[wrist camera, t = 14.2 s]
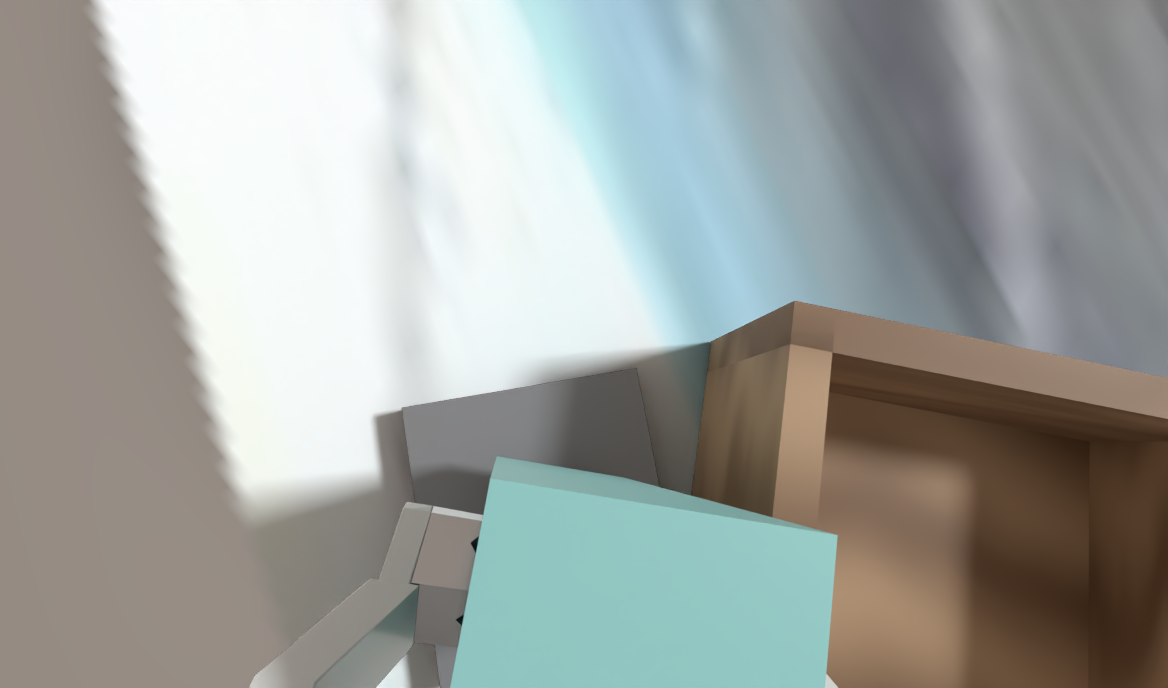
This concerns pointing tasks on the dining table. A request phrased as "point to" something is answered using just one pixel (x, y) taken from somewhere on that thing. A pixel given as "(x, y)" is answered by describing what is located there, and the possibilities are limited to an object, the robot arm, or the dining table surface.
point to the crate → (953, 497)
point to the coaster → (525, 442)
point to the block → (639, 589)
